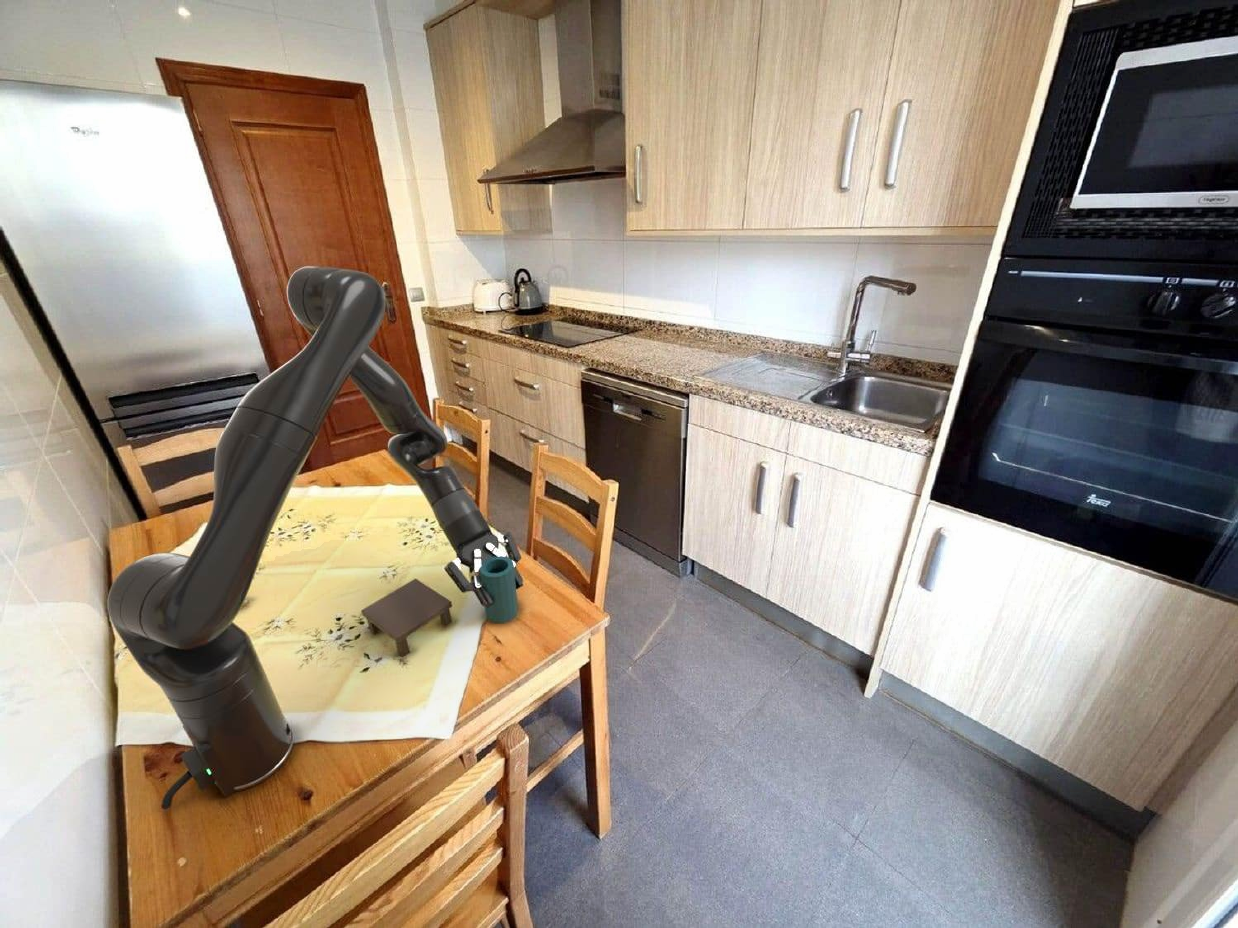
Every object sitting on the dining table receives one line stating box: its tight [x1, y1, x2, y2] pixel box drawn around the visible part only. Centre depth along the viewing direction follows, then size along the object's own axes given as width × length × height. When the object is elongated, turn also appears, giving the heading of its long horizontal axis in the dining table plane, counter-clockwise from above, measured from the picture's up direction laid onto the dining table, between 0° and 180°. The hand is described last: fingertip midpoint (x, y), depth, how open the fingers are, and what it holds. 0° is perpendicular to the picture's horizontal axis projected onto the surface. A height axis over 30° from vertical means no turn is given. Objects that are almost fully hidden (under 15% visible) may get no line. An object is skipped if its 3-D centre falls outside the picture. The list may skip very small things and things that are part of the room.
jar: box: [479, 556, 519, 625], centre depth 93 cm, size 6×6×11 cm
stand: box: [360, 578, 453, 658], centre depth 91 cm, size 11×11×5 cm
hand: (505, 596), depth 93 cm, fingers closed on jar, 6 cm apart
